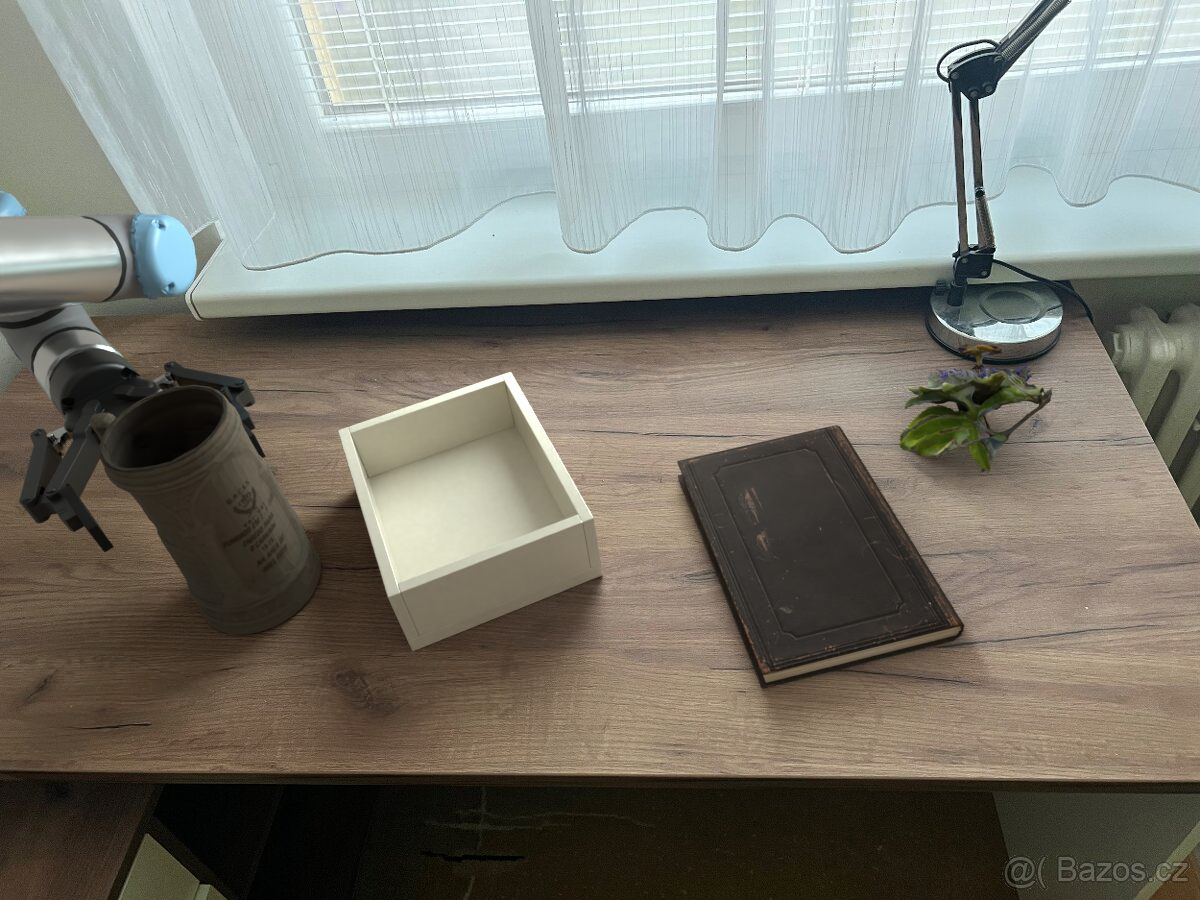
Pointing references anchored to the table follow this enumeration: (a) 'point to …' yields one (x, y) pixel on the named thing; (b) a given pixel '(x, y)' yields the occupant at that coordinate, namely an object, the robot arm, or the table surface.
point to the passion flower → (968, 407)
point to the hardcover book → (812, 557)
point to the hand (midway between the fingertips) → (181, 491)
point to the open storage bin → (468, 509)
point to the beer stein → (212, 506)
